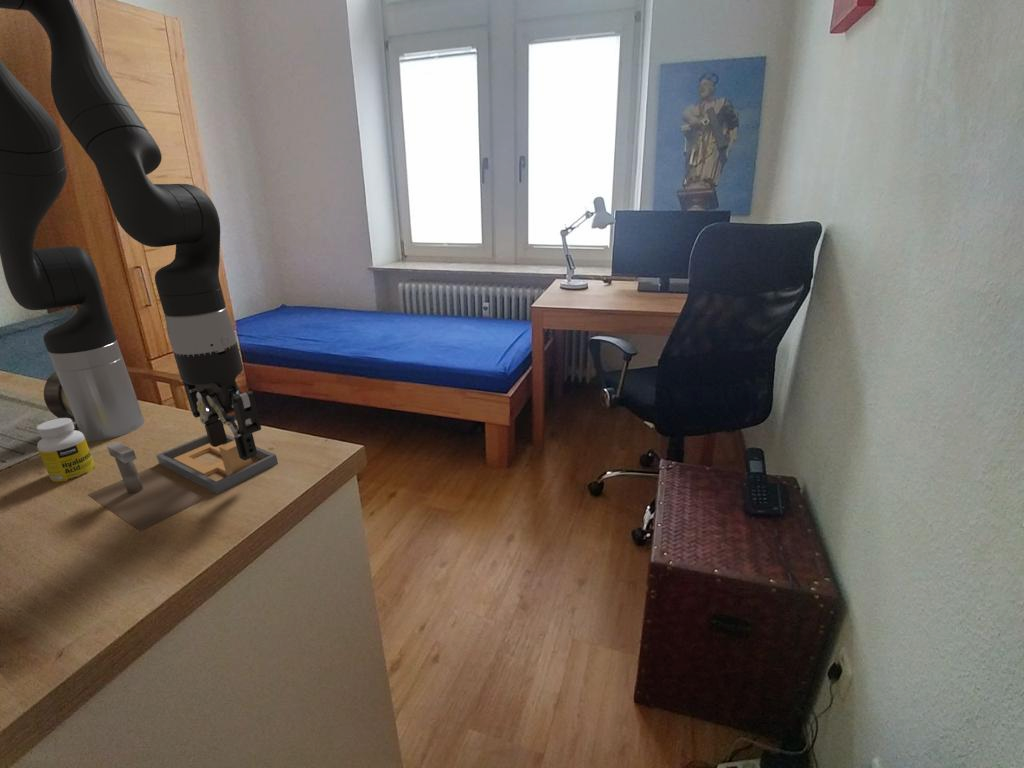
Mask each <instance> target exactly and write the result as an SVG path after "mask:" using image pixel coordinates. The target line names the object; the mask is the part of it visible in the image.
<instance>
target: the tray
mask: <svg viewBox="0 0 1024 768" xmlns="http://www.w3.org/2000/svg"><path fill="white" fill-rule="evenodd" d="M226 437H227V442H226V443H224V444H227V443H229V442H231V441H234V440H235V438H234V437H235V436H232V435H229V434H226ZM208 443H210V442H209V439H208V435H207V434H205V435H202V436H199V437H198V438H195V439H193V440H190V441H188V442H184V443H183V444H180V445H177V446H176V447H173V448H170V449H167V450H165V451H163V452H160V453H158V454H156V458H157V461H158V465H161V466H163V467H165V468H166V469H169V470H171V471H173V472H174V473H176V474H177V475H179V476H182V477H183V478H185V479H187V480H190V481H191V482H193V483H195V484H196V485H199V486H200V487H203V488H204V489H207V490H209V491H210V492H212V493H215V494H216V495H219V494H221V493H222V492H224V491H227V490H228V489H230V488H232V487H234V486H237V485H239V484H240V483H242V482H244V481H247V480H248V479H250V478H252V477H254V476H256V475H258V474H261V473H262V472H264V471H266V470H268V469H270V468H272V467H274V466H276V465H277V464H279V463H278V458H277V455H276V454H275V453H272V452H271V451H267V450H266V449H263V448H261V447H258V446H256V450H257V454H256V455H255V456H254V458H257V459H259V460H258V461H256V462H254V463H252V465H249V466H247V467H245V468H243V469H241V470H239V471H237V472H235V473H233V474H231V475H229V476H227V475H226V476H225V477H223V478H221V479H219V480H217V481H216V480H214V479H212V478H210V477H209V476H207V477H206V476H204V475H202V474H200V473H198V472H196V471H194V470H192V469H190V468H188V467H186V466H184V465H182V464H180V463H179V462H177V461H175V460H174V459H173V458H175V457H177V456H180V455H182V454H185V453H187V452H189V451H192V450H194V449H197V448H199V447H201V446H204V445H206V444H208ZM224 444H223V445H224Z"/></svg>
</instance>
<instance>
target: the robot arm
mask: <svg viewBox="0 0 1024 768" xmlns="http://www.w3.org/2000/svg"><path fill="white" fill-rule="evenodd" d="M0 9H7V10H15V11H27V12H29V13H30V15H32V16H33V17H34V18H35V19H36V20H37V22H38V23H39V24H40V26H41V27H42V29H43V30H44V31H45V33H46V35H47V37H48V40H49V45H50V53H51V55H50V58H51V59H50V61H51V62H50V63H51V64H50V89H51V95H52V97H53V102H54V104H55V108H56V111H57V112H58V114H59V116H60V118H61V119H62V121H63V122H64V124H65V125H66V127H67V128H68V129H69V131H70V132H71V134H72V135H73V137H74V138H75V139H76V141H77V142H78V143H79V145H80V146H81V148H82V149H83V150H84V151H85V153H86V154H87V155H88V157H89V158H90V159H91V161H92V162H93V163H94V166H95V167H96V170H97V172H98V175H99V179H100V181H101V183H102V185H103V189H104V190H105V193H106V195H107V198H108V200H109V203H110V206H111V209H112V211H113V214H114V216H115V219H116V220H117V221H116V222H118V224H119V225H120V228H122V229H123V231H124V232H125V233H126V234H127V235H128V236H129V237H130V238H132V239H133V240H134V241H136V242H138V243H140V244H141V245H144V246H147V247H150V248H163V247H169V246H170V247H171V246H175V254H174V259H173V260H172V261H171V262H170V263H168V264H166V265H164V266H163V267H161V268H159V269H158V270H157V271H155V275H154V282H155V286H156V290H157V294H158V297H159V301H160V305H161V307H162V311H163V314H164V318H165V324H166V330H167V331H166V332H167V336H168V339H169V342H170V346H171V350H172V353H173V356H174V359H175V363H176V366H177V369H178V373H179V376H180V380H181V381H182V385H183V387H184V391H185V394H186V397H187V399H188V404H189V406H190V409H191V412H192V416H193V417H194V418H196V419H197V418H199V420H200V423H201V425H204V428H205V431H206V432H205V433H206V435H208V439H209V442H210V445H211V446H213V447H217V446H219V445H224V443H226V442H227V437H226V430H225V426H224V425H227V426H228V427H229V430H231V432H232V434H233V437H234V438H235V442H236V446H237V450H238V453H239V457H240V459H242V460H247V459H249V458H251V459H252V458H253V457H254V456H255V455H256V454H257V450H256V447H257V446H256V442H255V439H254V435H253V434H255V433H257V432H259V431H261V430H262V425H261V421H260V416H259V411H258V407H257V403H256V398H255V394H254V392H253V391H252V390H249V391H244V392H242V391H241V390H240V387H239V385H238V383H237V381H236V379H237V377H238V376H239V375H240V374H241V373H242V372H243V369H244V367H243V366H244V365H243V362H242V358H241V354H240V350H239V345H238V341H237V338H236V333H235V329H234V323H233V322H232V319H231V317H230V314H229V312H228V309H227V305H226V302H225V298H224V293H223V289H222V284H221V281H220V277H219V276H220V275H219V271H220V261H221V260H220V259H221V258H220V257H221V256H220V254H221V222H220V216H219V212H218V210H217V208H216V206H215V204H214V203H213V201H212V199H211V198H210V197H209V195H208V194H207V193H206V192H205V191H204V190H203V189H201V188H199V187H198V186H196V185H193V184H188V183H169V184H168V183H153V182H152V181H151V179H149V177H148V176H147V175H150V174H151V173H153V172H154V171H156V170H157V169H158V167H159V166H160V165H161V162H162V159H163V158H162V152H161V150H160V148H159V145H158V144H157V142H156V140H155V139H154V137H153V136H152V135H151V133H150V132H149V130H148V129H147V127H146V126H145V125H144V123H143V122H142V120H141V119H140V117H139V116H138V114H137V113H136V112H135V110H134V109H133V107H132V106H131V104H130V103H129V102H128V100H127V99H126V97H125V96H124V94H123V93H122V91H121V90H120V88H119V86H117V83H116V82H115V80H114V79H113V77H112V75H111V73H110V72H109V70H108V69H107V66H106V65H105V63H104V61H103V58H102V56H101V55H100V53H99V51H98V49H97V47H96V45H95V43H94V41H93V39H92V37H91V35H90V33H89V31H88V29H87V27H86V25H85V23H84V21H83V19H82V17H81V15H80V13H79V11H78V9H77V8H76V5H75V3H74V2H73V0H0ZM67 171H68V170H67V166H66V159H65V154H64V148H63V142H62V138H61V134H60V130H59V128H58V126H57V123H56V122H55V121H54V119H53V118H52V116H51V115H50V113H49V112H48V111H47V110H46V109H45V108H44V106H43V105H42V104H41V103H40V102H39V100H38V99H37V98H36V97H34V95H33V94H32V93H31V92H30V91H29V90H28V89H27V88H26V87H25V86H24V85H23V84H22V83H21V82H20V81H19V80H18V78H16V77H15V76H14V74H12V72H11V71H10V70H9V69H8V68H7V66H6V65H5V64H4V63H3V61H2V60H1V59H0V261H1V262H0V263H1V267H2V269H3V274H4V278H5V281H6V285H7V287H8V290H9V292H10V294H11V296H12V298H13V299H14V300H15V302H16V303H18V305H19V306H20V307H22V308H23V309H26V310H28V311H45V310H51V309H57V308H58V309H59V308H64V307H65V308H66V307H71V306H78V310H77V311H76V312H75V313H74V315H73V316H71V318H69V319H67V320H66V321H65V322H63V323H62V324H60V325H57V326H55V327H54V328H51V329H49V330H48V331H47V332H45V334H44V335H43V344H44V345H45V348H46V351H47V352H48V355H49V358H50V360H51V363H52V366H53V368H54V371H56V373H57V376H58V378H59V381H60V383H61V386H62V388H63V391H64V393H65V396H66V398H67V401H68V403H69V406H70V408H71V411H72V413H73V416H74V418H75V421H76V422H75V424H77V426H78V431H80V432H82V433H83V435H84V437H85V439H86V442H87V443H89V442H92V441H103V440H104V441H105V440H109V439H114V438H119V437H122V436H125V435H127V434H130V433H132V432H134V431H136V430H138V429H139V428H141V427H142V426H143V425H144V424H145V419H144V416H143V413H142V410H141V406H140V403H139V401H138V398H137V395H136V392H135V389H134V386H133V384H132V380H131V378H130V375H129V372H128V371H129V370H128V368H127V366H126V365H127V364H126V363H125V360H124V357H123V354H122V351H121V348H120V346H119V343H118V339H117V336H116V333H115V330H114V326H113V323H112V319H111V316H110V313H109V310H108V308H107V303H106V299H105V297H104V292H103V291H104V290H103V289H102V284H101V279H100V278H99V274H98V271H97V268H96V265H95V263H94V261H93V259H92V257H91V256H90V254H88V253H89V252H87V251H86V250H85V249H83V248H82V247H80V246H76V245H75V246H74V245H73V246H72V245H70V246H57V247H45V248H35V249H34V244H35V238H36V233H37V230H38V228H39V226H40V224H41V223H42V221H43V219H44V217H45V216H46V214H48V212H49V211H50V209H51V208H52V206H53V205H54V204H55V202H56V200H57V199H58V197H59V196H60V194H61V192H62V191H63V188H64V187H65V183H66V181H67V175H68V174H67V173H68V172H67ZM231 413H234V414H231ZM230 414H231V415H230ZM254 458H255V457H254Z"/></svg>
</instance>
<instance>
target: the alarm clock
mask: <svg viewBox="0 0 1024 768" xmlns="http://www.w3.org/2000/svg"><path fill="white" fill-rule="evenodd" d="M43 387H44V388H43V400H44V402H45V405H46V408H47V409H48V410H49V411H50V413H51V414H53V416H55V417H56V418H57V419H59V418H70V419H71V420H72V422H73V423H75V424H74V430H76V431H79V429H78V426H77V424H76V421H75V418H74V416H73V413H72V411H71V408H70V406H69V403H68V401H67V398H66V396H65V393H64V391H63V388H62V386H61V383H60V381H59V378H58V376H57V373H56V370H54V371H53V372H52V373H51V374H50V375H49V377H48V378H47V380H46V382H45V385H44V386H43Z"/></svg>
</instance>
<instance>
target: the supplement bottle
mask: <svg viewBox="0 0 1024 768" xmlns="http://www.w3.org/2000/svg"><path fill="white" fill-rule="evenodd" d="M36 431H37V433H38V436H39V437H40V438H41V439H40V440H39V441H38V442H37V445H36V446H37V447H36V448H37V451H38V453H39V455H40V457H41V459H42V463H43V465H44V467H45V469H46V472H47V474H48V476H49V479H50V481H52V482H55V483H56V482H58V483H59V482H68V481H72V480H75V479H78V478H81V477H83V476H85V475H87V474H89V473H90V472H92V471H94V469H95V468H96V464H95V461H94V458H93V456H92V453H91V450H90V448H89V445H88V442H86V439H85V437H84V435H83V433H82V432H80V431H79V430H78V431H76V430H75V424H74V422H72V420H71V419H70V418H54V419H51V420H48V421H44V422H42V423H40V424H39V425H37V426H36Z"/></svg>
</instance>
